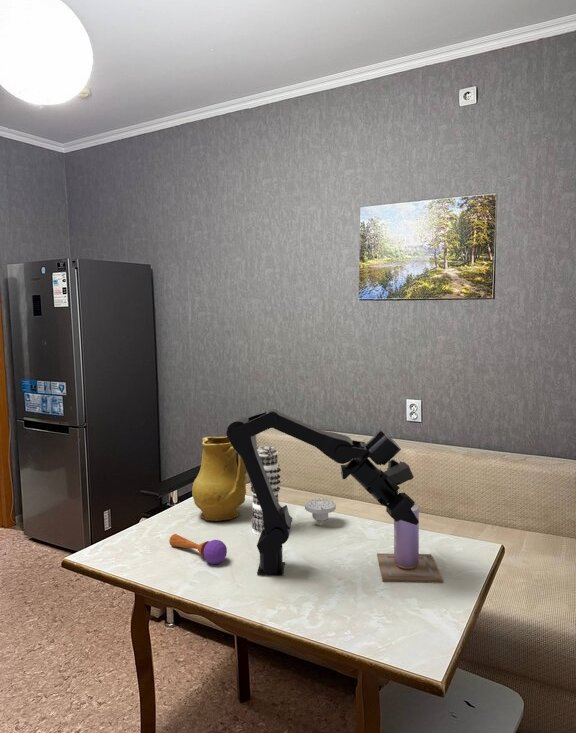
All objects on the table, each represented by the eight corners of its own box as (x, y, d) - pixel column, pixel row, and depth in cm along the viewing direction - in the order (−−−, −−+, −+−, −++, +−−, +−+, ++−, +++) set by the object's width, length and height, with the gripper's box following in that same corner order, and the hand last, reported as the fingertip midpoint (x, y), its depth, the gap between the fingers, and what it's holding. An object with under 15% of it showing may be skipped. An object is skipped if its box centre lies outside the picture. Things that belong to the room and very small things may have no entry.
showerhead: (305, 507, 157) (303, 496, 166) (306, 531, 157) (304, 518, 167) (337, 506, 157) (333, 495, 167) (338, 530, 157) (334, 517, 167)
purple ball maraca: (183, 527, 152) (232, 540, 139) (181, 549, 151) (231, 564, 138) (166, 530, 147) (215, 543, 134) (164, 552, 147) (213, 568, 134)
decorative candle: (284, 524, 162) (282, 444, 160) (279, 537, 153) (277, 451, 151) (254, 523, 164) (252, 443, 161) (248, 535, 155) (245, 451, 152)
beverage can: (420, 570, 130) (420, 510, 128) (395, 569, 130) (394, 510, 129) (417, 558, 136) (417, 501, 134) (393, 557, 136) (393, 501, 135)
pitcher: (237, 502, 182) (235, 430, 180) (255, 521, 165) (253, 442, 163) (187, 510, 176) (184, 435, 174) (200, 531, 159) (198, 448, 156)
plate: (442, 582, 125) (442, 580, 125) (382, 581, 126) (382, 578, 126) (431, 556, 139) (431, 553, 139) (377, 555, 140) (377, 552, 140)
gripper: (406, 463, 121) (452, 508, 123) (381, 444, 139) (420, 483, 141) (372, 499, 120) (418, 543, 123) (351, 475, 139) (391, 514, 141)
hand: (412, 518), depth 132 cm, fingers closed on beverage can, 6 cm apart
